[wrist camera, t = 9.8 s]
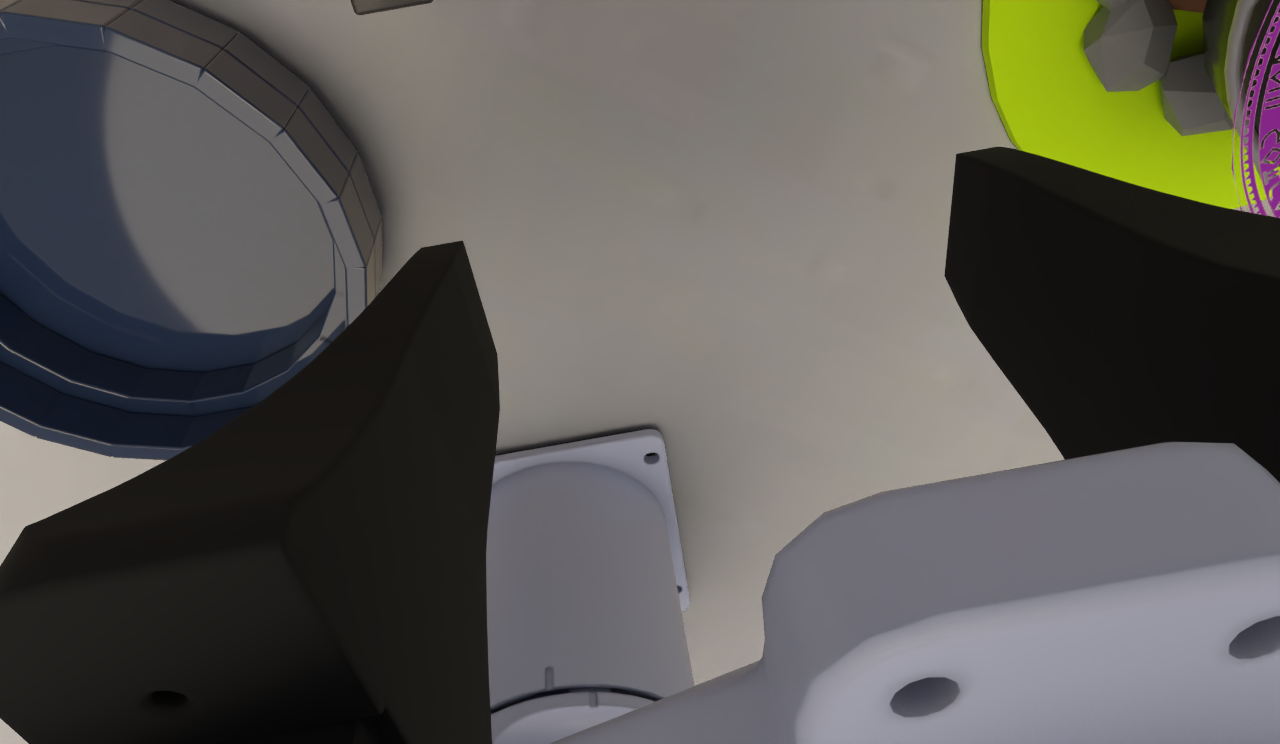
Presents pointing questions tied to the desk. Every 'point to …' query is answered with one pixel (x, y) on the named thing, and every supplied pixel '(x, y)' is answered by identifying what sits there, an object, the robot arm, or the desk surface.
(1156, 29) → the toy cauldron
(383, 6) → the copper pot
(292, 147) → the pan
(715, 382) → the desk surface
